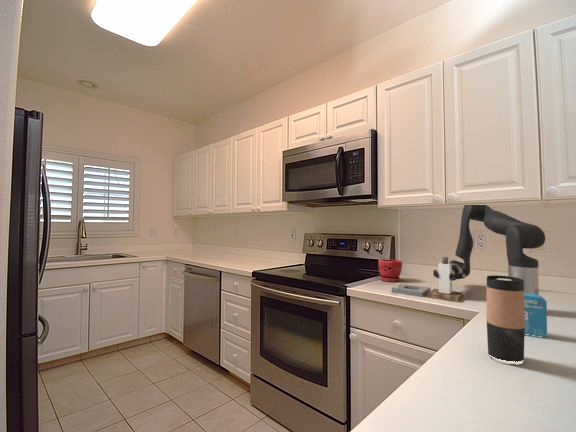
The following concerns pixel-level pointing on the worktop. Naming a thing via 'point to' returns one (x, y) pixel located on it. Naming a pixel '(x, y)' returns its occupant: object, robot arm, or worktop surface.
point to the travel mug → (505, 317)
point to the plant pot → (389, 269)
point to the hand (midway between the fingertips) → (443, 276)
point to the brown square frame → (445, 295)
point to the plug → (445, 276)
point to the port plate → (411, 290)
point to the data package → (535, 315)
